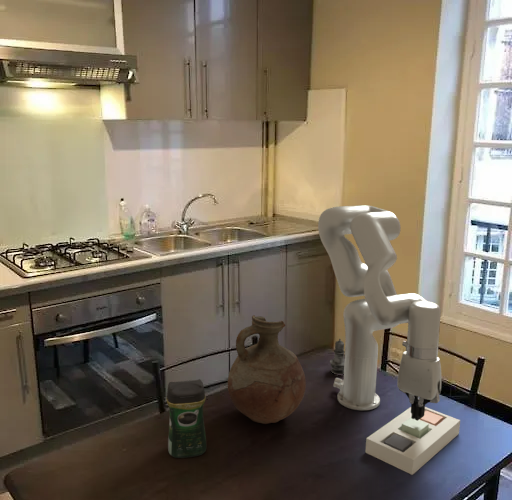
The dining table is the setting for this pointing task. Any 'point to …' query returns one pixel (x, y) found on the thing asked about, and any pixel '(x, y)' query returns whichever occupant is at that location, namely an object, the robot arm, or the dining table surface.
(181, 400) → the coffee jar
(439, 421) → the terracotta button
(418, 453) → the button panel
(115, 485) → the dining table surface
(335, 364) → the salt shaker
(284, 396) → the jug
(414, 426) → the sage button
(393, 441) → the charcoal button
